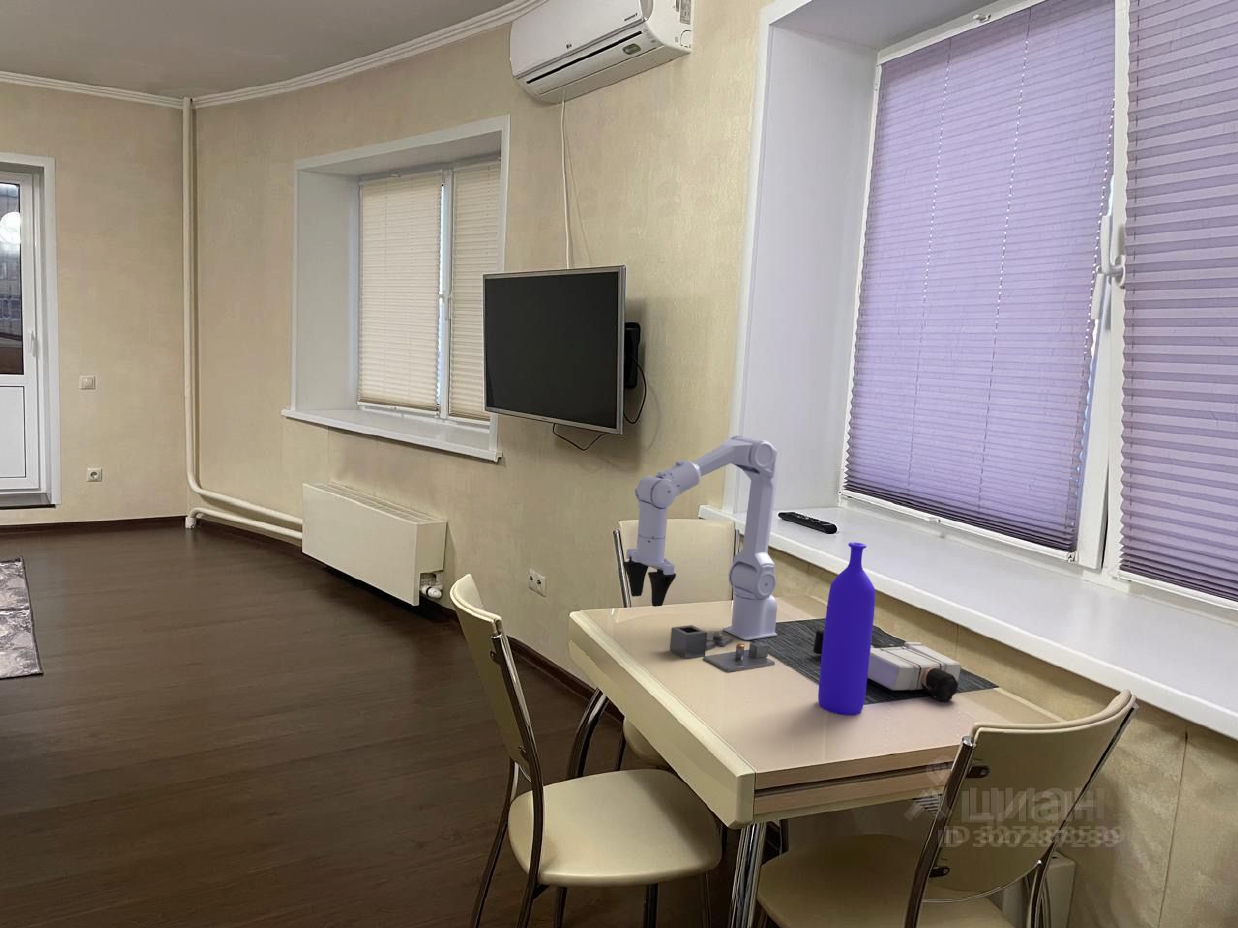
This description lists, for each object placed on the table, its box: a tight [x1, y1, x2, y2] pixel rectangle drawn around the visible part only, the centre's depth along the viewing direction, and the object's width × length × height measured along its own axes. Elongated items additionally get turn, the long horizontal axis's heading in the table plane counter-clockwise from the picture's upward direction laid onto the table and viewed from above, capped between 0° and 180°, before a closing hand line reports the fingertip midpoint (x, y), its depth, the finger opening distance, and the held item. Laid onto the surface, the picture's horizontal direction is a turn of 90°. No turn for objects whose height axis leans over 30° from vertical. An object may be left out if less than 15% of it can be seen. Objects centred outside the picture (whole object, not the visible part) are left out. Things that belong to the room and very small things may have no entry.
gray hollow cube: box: [669, 624, 708, 660], centre depth 193 cm, size 5×5×5 cm
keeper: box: [702, 641, 776, 673], centre depth 190 cm, size 12×8×4 cm, turn 123°
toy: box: [813, 629, 962, 703], centre depth 188 cm, size 19×7×30 cm
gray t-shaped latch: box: [706, 631, 734, 651], centre depth 200 cm, size 10×5×2 cm, turn 152°
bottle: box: [817, 541, 876, 716], centre depth 168 cm, size 8×8×30 cm
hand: (646, 600), depth 193 cm, fingers open, 7 cm apart
